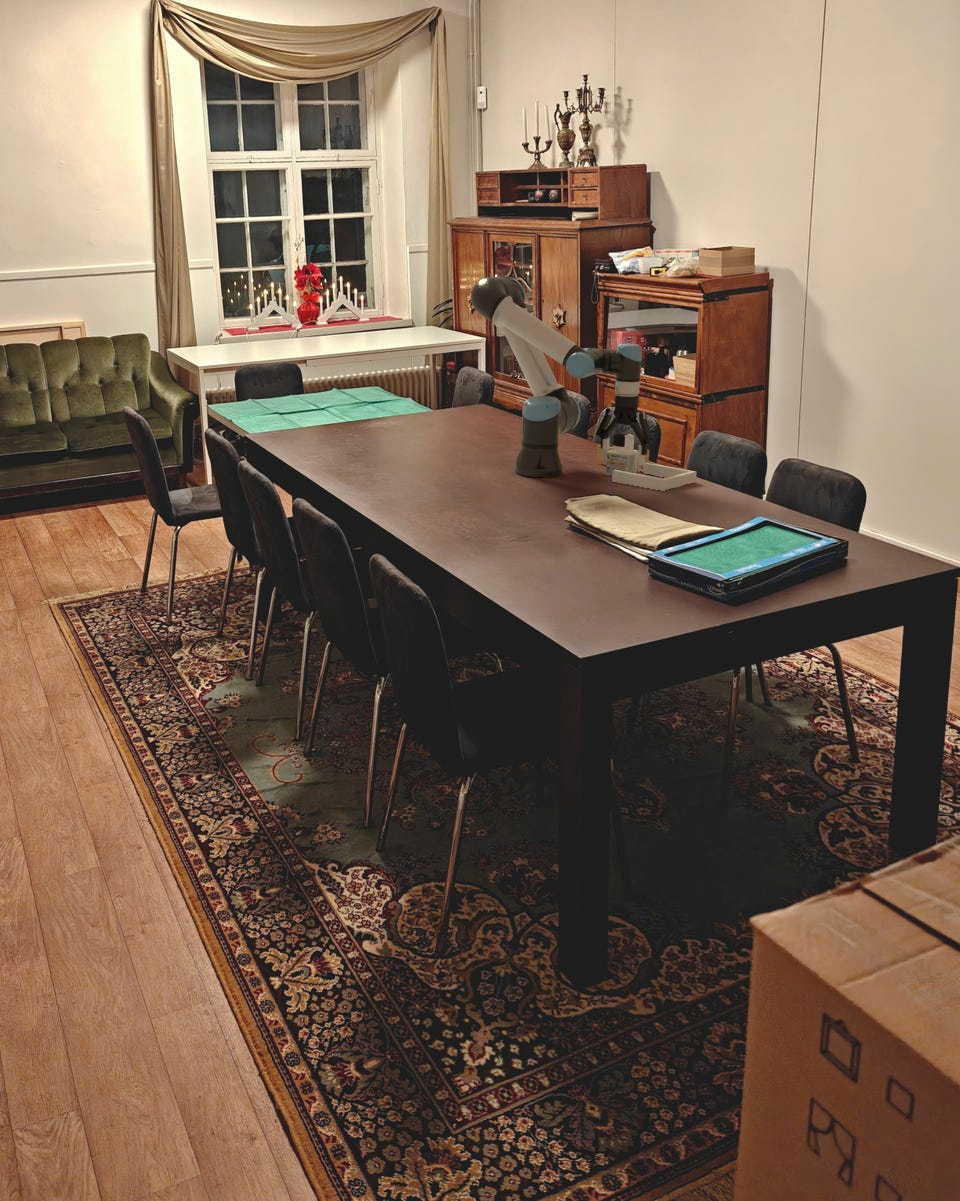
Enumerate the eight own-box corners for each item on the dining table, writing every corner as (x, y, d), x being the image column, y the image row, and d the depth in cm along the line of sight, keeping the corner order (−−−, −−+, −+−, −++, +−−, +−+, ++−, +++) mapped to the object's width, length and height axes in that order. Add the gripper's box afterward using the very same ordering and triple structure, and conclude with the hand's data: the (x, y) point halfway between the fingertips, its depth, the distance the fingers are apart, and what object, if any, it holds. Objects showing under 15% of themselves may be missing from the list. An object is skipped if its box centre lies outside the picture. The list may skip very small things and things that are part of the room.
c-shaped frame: (663, 491, 342) (664, 480, 341) (611, 481, 353) (612, 470, 352) (695, 482, 356) (696, 471, 355) (645, 473, 367) (646, 462, 366)
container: (605, 475, 362) (608, 434, 358) (614, 471, 369) (617, 431, 365) (628, 478, 359) (631, 437, 355) (636, 474, 365) (639, 433, 361)
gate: (595, 459, 379) (596, 442, 377) (599, 458, 381) (600, 441, 379) (645, 468, 367) (646, 451, 365) (649, 467, 369) (650, 450, 367)
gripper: (667, 397, 351) (662, 466, 357) (600, 389, 366) (597, 455, 373) (654, 400, 345) (649, 469, 352) (587, 391, 361) (583, 457, 367)
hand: (622, 462), depth 362 cm, fingers open, 13 cm apart
